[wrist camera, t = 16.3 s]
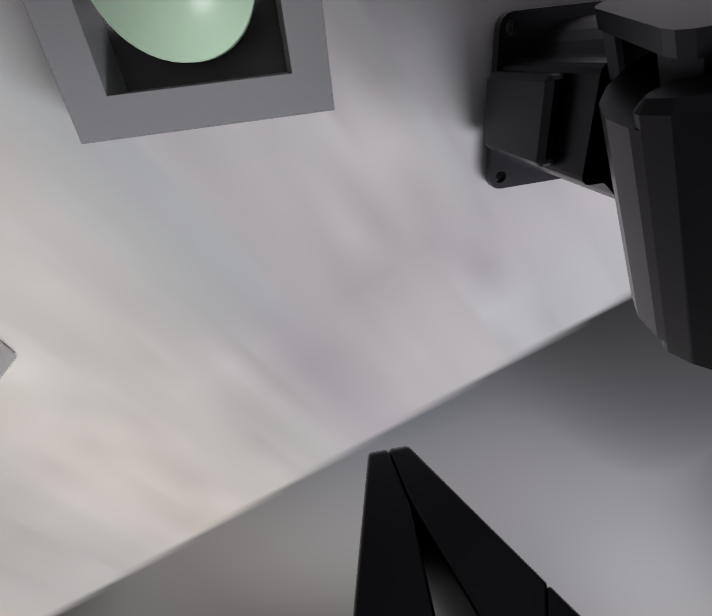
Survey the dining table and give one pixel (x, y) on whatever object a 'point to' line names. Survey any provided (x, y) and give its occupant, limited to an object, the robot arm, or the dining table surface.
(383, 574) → the robot arm
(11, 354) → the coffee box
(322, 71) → the button collar
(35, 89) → the dining table surface
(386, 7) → the dining table surface
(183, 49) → the button
